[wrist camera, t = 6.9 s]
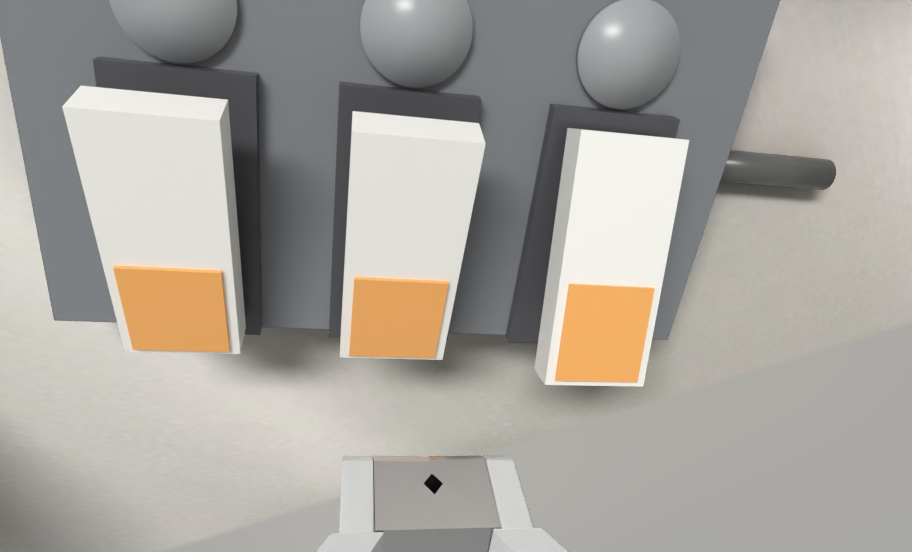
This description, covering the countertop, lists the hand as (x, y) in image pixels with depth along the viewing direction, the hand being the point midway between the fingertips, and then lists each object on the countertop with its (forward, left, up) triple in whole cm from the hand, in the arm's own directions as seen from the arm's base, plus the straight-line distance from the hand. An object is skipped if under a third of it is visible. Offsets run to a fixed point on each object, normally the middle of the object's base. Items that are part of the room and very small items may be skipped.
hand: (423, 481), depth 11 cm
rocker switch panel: (-3, -3, -14) cm, 15 cm away
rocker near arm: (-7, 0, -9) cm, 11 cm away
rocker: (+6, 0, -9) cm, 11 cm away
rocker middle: (0, 0, -9) cm, 9 cm away
